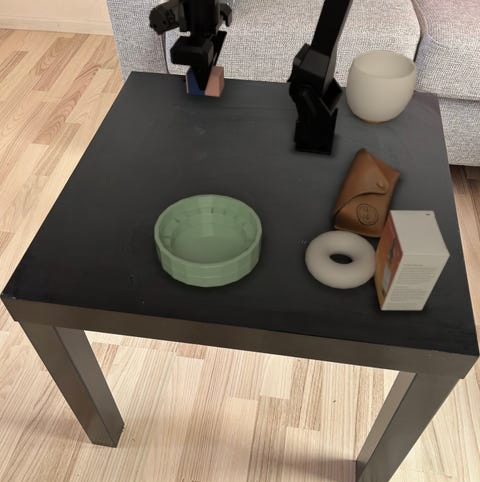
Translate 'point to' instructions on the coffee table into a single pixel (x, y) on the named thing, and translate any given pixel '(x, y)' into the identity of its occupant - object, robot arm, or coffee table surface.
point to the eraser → (213, 85)
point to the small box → (408, 259)
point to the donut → (336, 272)
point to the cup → (380, 85)
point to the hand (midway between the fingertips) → (205, 84)
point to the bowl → (208, 240)
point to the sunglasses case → (365, 196)
